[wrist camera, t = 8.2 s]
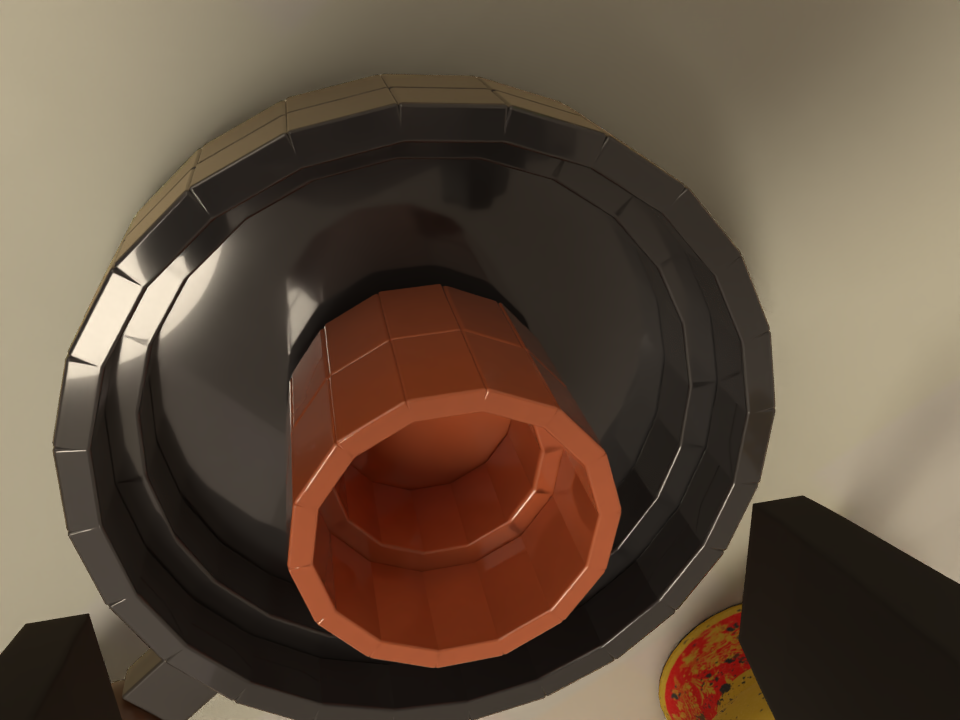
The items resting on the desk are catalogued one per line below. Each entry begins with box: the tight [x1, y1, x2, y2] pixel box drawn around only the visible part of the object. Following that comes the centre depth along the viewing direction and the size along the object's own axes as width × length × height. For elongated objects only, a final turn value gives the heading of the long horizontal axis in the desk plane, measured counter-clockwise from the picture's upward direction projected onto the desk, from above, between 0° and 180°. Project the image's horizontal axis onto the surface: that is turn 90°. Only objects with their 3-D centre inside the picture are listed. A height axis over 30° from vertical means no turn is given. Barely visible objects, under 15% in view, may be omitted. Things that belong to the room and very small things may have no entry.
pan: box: [52, 74, 775, 720], centre depth 18 cm, size 13×13×3 cm
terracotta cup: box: [285, 284, 621, 668], centre depth 17 cm, size 5×5×5 cm
